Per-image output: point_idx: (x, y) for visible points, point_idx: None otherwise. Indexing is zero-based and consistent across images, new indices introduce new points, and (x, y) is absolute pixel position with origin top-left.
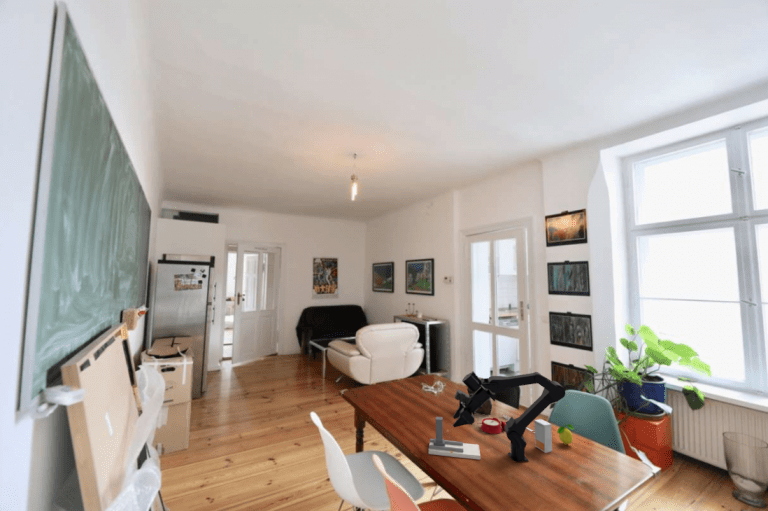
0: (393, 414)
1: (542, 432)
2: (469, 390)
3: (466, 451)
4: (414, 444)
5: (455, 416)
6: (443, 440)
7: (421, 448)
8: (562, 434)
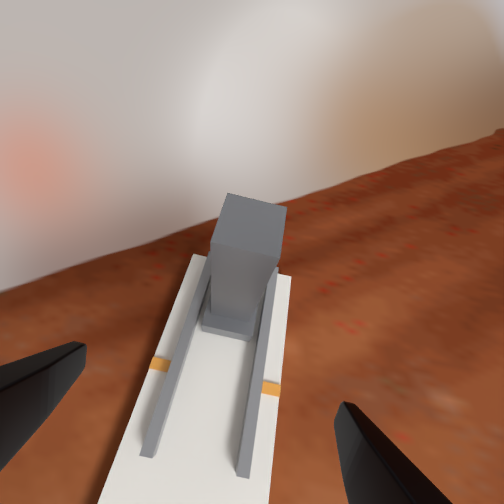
0: (476, 198)
1: None
2: None
3: (149, 483)
4: None
5: (349, 445)
6: (241, 324)
7: None
8: None
